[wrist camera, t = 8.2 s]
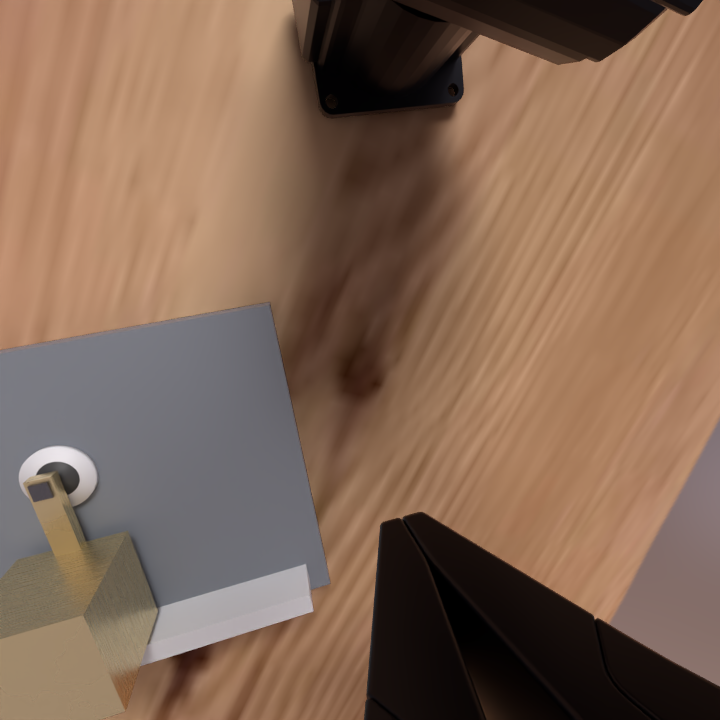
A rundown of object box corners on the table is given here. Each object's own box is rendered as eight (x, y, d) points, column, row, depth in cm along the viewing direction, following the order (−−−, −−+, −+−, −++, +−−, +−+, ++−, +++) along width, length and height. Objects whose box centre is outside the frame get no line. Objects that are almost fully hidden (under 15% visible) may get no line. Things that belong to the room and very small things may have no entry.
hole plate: (269, 301, 18) (269, 321, 12) (326, 563, 22) (348, 677, 16) (-357, 414, 15) (-818, 524, 8) (-153, 706, 19) (-364, 926, 12)
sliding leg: (101, 460, 16) (44, 527, 12) (158, 610, 19) (125, 711, 14) (-18, 487, 16) (-121, 568, 12) (55, 641, 18) (-11, 756, 14)
